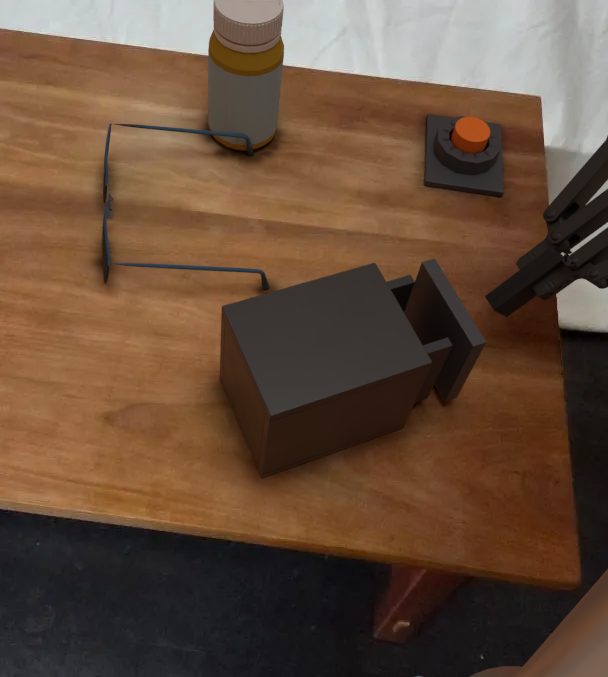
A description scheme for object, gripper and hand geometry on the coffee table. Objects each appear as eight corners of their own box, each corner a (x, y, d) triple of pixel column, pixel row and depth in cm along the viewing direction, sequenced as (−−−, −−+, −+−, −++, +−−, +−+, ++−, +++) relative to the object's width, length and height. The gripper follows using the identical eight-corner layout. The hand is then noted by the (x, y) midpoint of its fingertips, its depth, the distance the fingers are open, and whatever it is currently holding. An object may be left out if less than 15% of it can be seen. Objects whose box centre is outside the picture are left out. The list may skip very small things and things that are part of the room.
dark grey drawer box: (354, 336, 72) (375, 261, 64) (403, 428, 68) (433, 362, 59) (219, 378, 69) (221, 305, 60) (261, 478, 64) (270, 416, 55)
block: (502, 197, 83) (509, 180, 81) (424, 185, 83) (429, 168, 81) (499, 129, 89) (506, 111, 87) (426, 118, 89) (431, 99, 87)
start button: (485, 156, 83) (490, 144, 82) (450, 151, 83) (455, 138, 82) (485, 132, 85) (490, 119, 84) (451, 127, 85) (455, 114, 84)
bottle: (260, 162, 83) (270, 36, 70) (197, 140, 83) (195, 11, 71) (286, 119, 86) (300, -8, 74) (225, 98, 87) (228, -32, 75)
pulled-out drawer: (423, 316, 73) (447, 254, 66) (469, 393, 69) (500, 337, 62) (292, 356, 70) (302, 296, 62) (332, 441, 66) (348, 387, 58)
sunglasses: (103, 154, 81) (105, 116, 77) (250, 166, 85) (259, 130, 81) (100, 297, 72) (102, 261, 68) (265, 303, 76) (276, 270, 72)
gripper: (830, 192, 58) (553, 378, 68) (716, 73, 64) (476, 259, 74) (822, 154, 52) (519, 363, 62) (697, 27, 59) (438, 235, 68)
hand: (496, 306), depth 68 cm, fingers closed
